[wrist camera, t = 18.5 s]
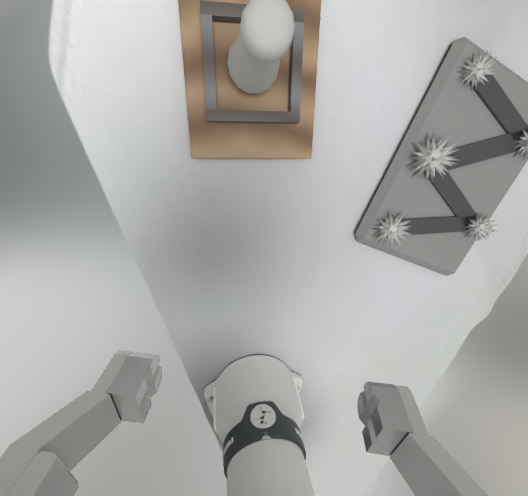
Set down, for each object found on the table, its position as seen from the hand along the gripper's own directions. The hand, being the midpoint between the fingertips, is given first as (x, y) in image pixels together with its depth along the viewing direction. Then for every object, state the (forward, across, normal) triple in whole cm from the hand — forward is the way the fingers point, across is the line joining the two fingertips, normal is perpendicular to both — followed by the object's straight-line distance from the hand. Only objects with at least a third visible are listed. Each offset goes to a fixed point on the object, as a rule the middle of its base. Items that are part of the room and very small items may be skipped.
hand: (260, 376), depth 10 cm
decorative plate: (+39, +27, 0) cm, 47 cm away
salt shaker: (+32, -5, +11) cm, 34 cm away
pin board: (+33, -5, +10) cm, 35 cm away
